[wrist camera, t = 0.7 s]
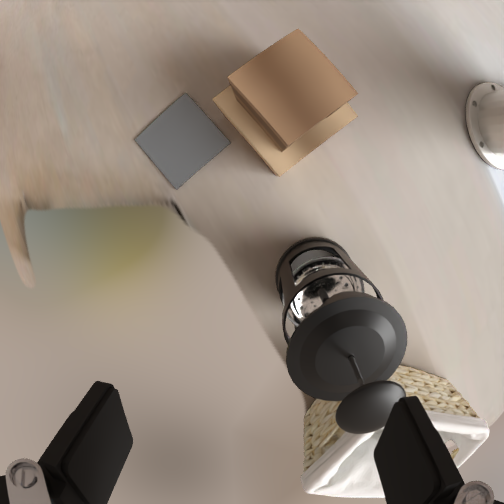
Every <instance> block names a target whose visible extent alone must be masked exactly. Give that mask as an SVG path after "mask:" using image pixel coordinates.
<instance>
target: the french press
mask: <svg viewBox="0 0 504 504" xmlns="http://www.w3.org/2000/svg"><path fill="white" fill-rule="evenodd" d="M310 250H324V251H327V252H330V253H332V254H333V255H335V256H336V257H337V258H335V257H319V258H314V259H312V260H310V261H307V262H305V263H304V264H302V265H301V266H299V267H298V268H297V269H296V270H295V271H294V272H292V269H291V263H292V262H293V261H294V260H295V259H296V258H297V257H298V256H299V255H301V254H302V253H304V252H307V251H310ZM362 280H364V281H366V282H367V283H369V284H370V285H371V286H372V287H373V289H374V291H375V292H376V295H377V298H376V297H373V296H371V295H369V294H366V293H364V284H363V281H362ZM276 285H277V289H278V292H279V295H280V299H281V301H282V303H283V306H284V309H283V313H282V325H283V332H284V337H285V340H286V342H287V344H288V348H287V356H286V363H287V368H288V373H289V375H290V377H291V379H292V381H293V382H294V383H295V385H296V386H297V387H298V388H299V389H300V390H302V391H303V392H304V393H306V394H307V395H309V396H312V397H314V398H317V399H321V400H325V401H342V402H341V403H340V404H339V406H338V408H337V410H336V415H335V418H336V422H337V425H338V426H339V427H340V428H341V429H342V430H344V431H345V432H348V433H352V434H366V433H370V432H374V431H377V430H379V429H381V428H383V427H385V425H386V422H387V420H388V417H389V415H390V413H391V410H392V408H393V405H394V403H395V402H398V400H399V399H400V398H402V397H406V392H405V390H404V388H403V387H402V386H401V385H400V384H398V383H396V382H393V381H388V379H389V378H390V377H391V376H392V375H393V374H394V372H395V371H396V369H397V368H398V366H399V365H400V363H401V361H402V359H403V357H404V354H405V350H406V346H407V331H406V326H405V323H404V321H403V319H402V317H401V316H400V314H399V313H398V312H397V311H396V310H395V309H394V307H392V306H391V305H390V304H388V303H387V302H385V301H383V298H382V296H381V294H380V292H379V290H378V289H377V288H376V287H375V286H374V285H373V283H372V282H371V281H370V280H369V279H368V278H367V277H366V276H365V275H364V273H363V272H362V271H361V270H360V269H359V268H358V267H357V266H356V265H355V264H354V262H353V261H352V260H351V259H350V257H349V255H348V254H347V252H346V251H345V250H344V249H343V248H342V247H341V246H340V245H338V244H337V243H336V242H333V241H331V240H329V239H324V238H309V239H304V240H302V241H300V242H297V243H296V244H294V245H293V246H291V247H290V248H289V249H288V250H287V251H286V252H285V253H284V254H283V256H282V257H281V259H280V261H279V263H278V266H277V270H276ZM286 316H287V317H288V318H289V319H290V321H291V322H292V323H293V324H294V325H295V331H294V333H293V335H292V337H291V338H289V336H288V334H287V331H286V328H285V321H286Z"/></svg>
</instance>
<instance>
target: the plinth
mask: <svg viewBox="0 0 504 504" xmlns="http://www.w3.org/2000/svg"><path fill="white" fill-rule="evenodd" d="M212 100H213V101H214V102H215V104H216V105H217V106H218V108H219V109H220V110H221V112H222V113H223V114H224V116H225V117H226V118H227V119H228V120H229V121H230V122H231V123H232V125H233V126H234V127H235V128H236V129H237V130H238V131H239V133H240V134H241V135H242V136H243V137H244V138H245V139H246V141H247V142H248V143H249V144H250V145H251V146H252V148H253V149H254V150H255V151H256V152H257V153H258V155H259V156H260V157H261V158H262V159H263V161H264V162H265V163H266V164H267V165H268V167H269V168H270V169H271V170H272V171H273V173H274V174H275V175H276V176H279V177H280V176H281V175H282V174H284V173H285V172H286V171H287V170H289V169H290V168H291V167H292V166H294V165H295V164H296V163H297V162H299V161H300V160H301V159H303V158H304V157H305V156H306V155H308V154H309V153H310V152H312V151H313V150H314V149H315V148H317V147H318V146H319V145H321V144H322V143H323V142H325V141H326V140H327V139H328V138H330V137H331V136H332V135H334V134H335V133H336V132H338V131H339V130H340V129H342V128H343V127H344V126H346V125H347V124H348V123H350V122H351V121H352V120H354V119H355V118H356V117H358V115H357V114H356V113H355V112H354V110H353V109H352V108H351V107H350V105H349V104H348V103H345V104H344V105H343V106H342V107H340V108H339V109H338V110H337V111H335V112H334V113H333V114H331V115H330V116H329V117H327V118H324V119H323V120H322V121H320V122H319V123H318V124H316V125H315V126H314V127H312V128H311V129H310V130H309V131H307V132H306V133H305V134H303V135H302V136H301V137H299V138H298V139H297V140H296V141H295V142H294V143H293V144H292V145H291V146H289V147H288V148H287V149H285V150H284V151H283V152H281V151H280V149H279V148H278V147H277V146H276V145H275V143H274V142H273V141H272V140H271V139H270V137H269V136H268V135H267V134H266V133H265V132H264V131H263V129H262V128H261V127H260V126H259V125H258V124H257V122H256V121H255V120H254V119H253V118H252V117H251V116H250V115H249V113H248V112H247V111H246V110H245V109H244V108H243V107H242V106H241V105H240V103H239V102H238V101H237V100H236V97H235V95H234V92H233V90H232V87H231V85H230V86H228V87H227V88H226V89H224V90H223V91H222V92H221V93H219V94H218V95H217V96H216V97H214V98H213V99H212Z"/></svg>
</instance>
